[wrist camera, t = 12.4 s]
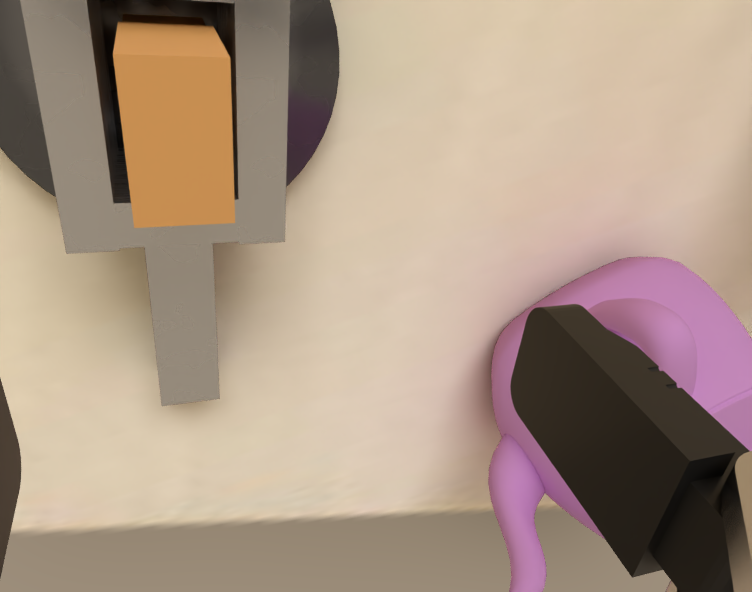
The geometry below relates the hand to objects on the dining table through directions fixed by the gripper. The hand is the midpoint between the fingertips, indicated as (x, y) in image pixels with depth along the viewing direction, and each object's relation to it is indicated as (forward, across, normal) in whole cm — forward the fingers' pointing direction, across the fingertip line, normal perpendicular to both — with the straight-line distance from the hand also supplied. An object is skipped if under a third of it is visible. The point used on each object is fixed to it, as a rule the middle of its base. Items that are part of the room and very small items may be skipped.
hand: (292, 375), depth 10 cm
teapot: (+23, -25, +20) cm, 40 cm away
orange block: (+21, +1, 0) cm, 21 cm away
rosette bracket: (+22, +2, +5) cm, 23 cm away
